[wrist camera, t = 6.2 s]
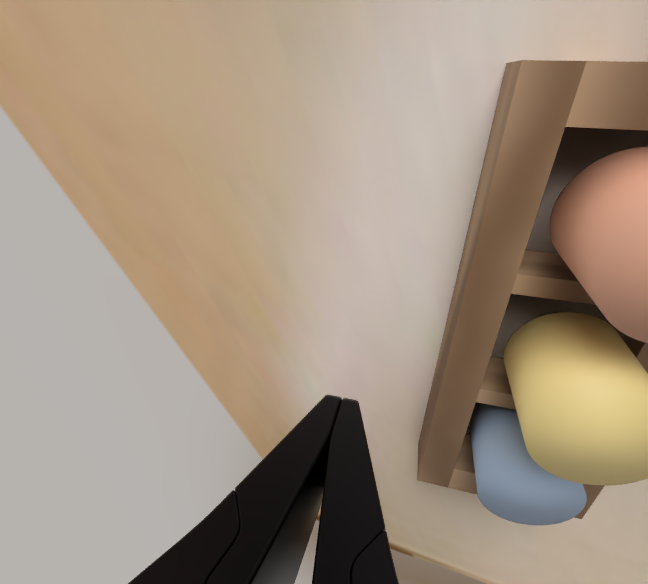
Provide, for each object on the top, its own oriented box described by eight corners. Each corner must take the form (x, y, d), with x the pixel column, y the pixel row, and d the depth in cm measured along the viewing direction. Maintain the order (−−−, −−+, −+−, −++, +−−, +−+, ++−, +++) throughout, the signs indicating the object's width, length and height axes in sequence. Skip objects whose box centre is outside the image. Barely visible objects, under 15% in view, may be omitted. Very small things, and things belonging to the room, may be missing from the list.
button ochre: (643, 321, 16) (719, 407, 12) (597, 402, 18) (646, 498, 14) (519, 304, 17) (549, 379, 13) (492, 383, 19) (509, 467, 15)
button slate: (569, 399, 21) (603, 478, 17) (542, 454, 24) (565, 534, 20) (478, 383, 22) (490, 453, 18) (461, 437, 25) (467, 510, 21)
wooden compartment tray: (805, 67, 13) (893, 65, 11) (566, 475, 25) (581, 519, 23) (506, 63, 15) (521, 60, 13) (418, 443, 27) (417, 480, 25)
